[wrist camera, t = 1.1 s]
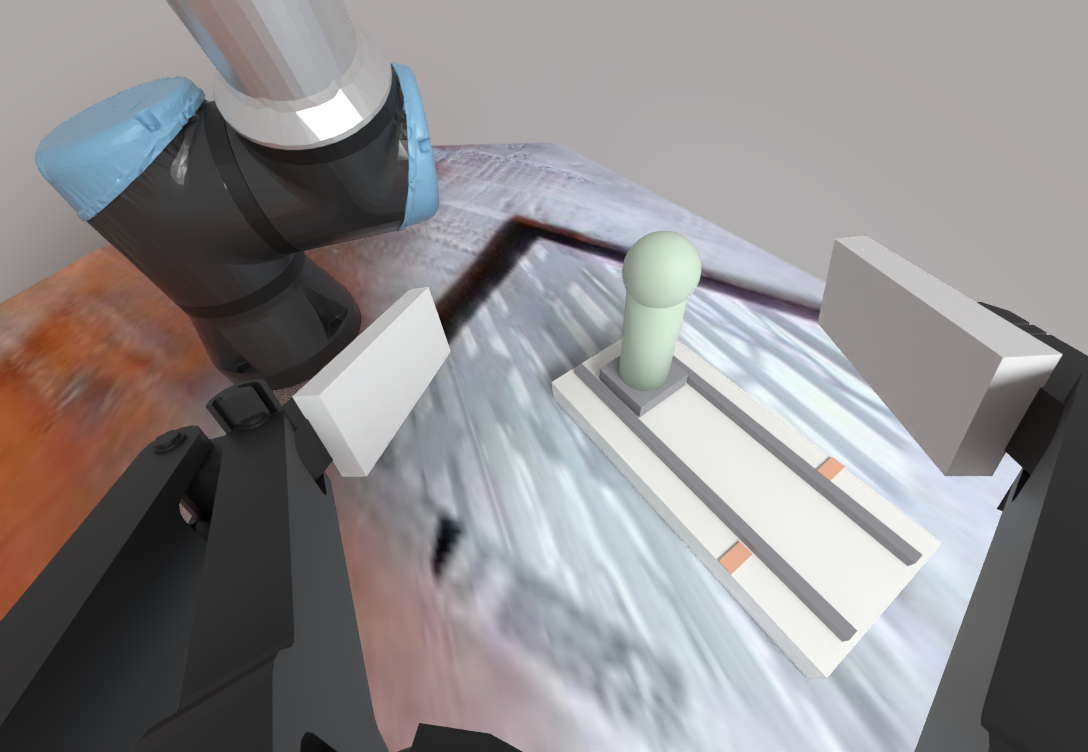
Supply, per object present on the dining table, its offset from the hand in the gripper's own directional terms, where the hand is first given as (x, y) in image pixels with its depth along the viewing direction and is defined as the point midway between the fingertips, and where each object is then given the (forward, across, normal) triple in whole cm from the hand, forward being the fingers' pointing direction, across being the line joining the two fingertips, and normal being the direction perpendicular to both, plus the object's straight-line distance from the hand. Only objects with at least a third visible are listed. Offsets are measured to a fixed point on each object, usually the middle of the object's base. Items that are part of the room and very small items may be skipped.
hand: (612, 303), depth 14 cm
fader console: (+12, +6, -20) cm, 24 cm away
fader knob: (+17, +1, -15) cm, 23 cm away
